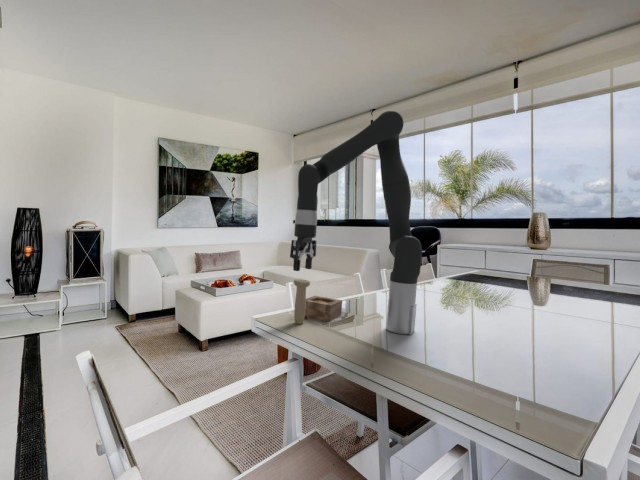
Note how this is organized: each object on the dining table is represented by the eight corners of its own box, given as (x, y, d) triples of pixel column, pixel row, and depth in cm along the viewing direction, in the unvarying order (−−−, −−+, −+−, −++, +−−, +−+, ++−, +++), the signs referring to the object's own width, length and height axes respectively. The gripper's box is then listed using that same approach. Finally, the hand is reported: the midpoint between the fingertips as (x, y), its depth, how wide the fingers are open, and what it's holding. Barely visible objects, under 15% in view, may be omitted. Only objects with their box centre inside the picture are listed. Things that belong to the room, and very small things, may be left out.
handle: (297, 326, 113) (300, 282, 112) (288, 321, 118) (291, 279, 118) (309, 324, 116) (312, 282, 115) (300, 319, 121) (302, 279, 120)
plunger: (333, 305, 130) (334, 302, 130) (327, 308, 124) (327, 305, 124) (317, 302, 133) (317, 299, 133) (310, 305, 127) (310, 302, 127)
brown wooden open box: (341, 315, 131) (342, 300, 131) (329, 321, 121) (330, 305, 121) (314, 310, 136) (315, 295, 136) (301, 315, 127) (302, 300, 126)
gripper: (305, 223, 108) (301, 273, 108) (324, 225, 120) (321, 269, 121) (285, 222, 111) (282, 270, 112) (306, 223, 124) (303, 266, 124)
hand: (302, 269), depth 116 cm, fingers open, 8 cm apart
